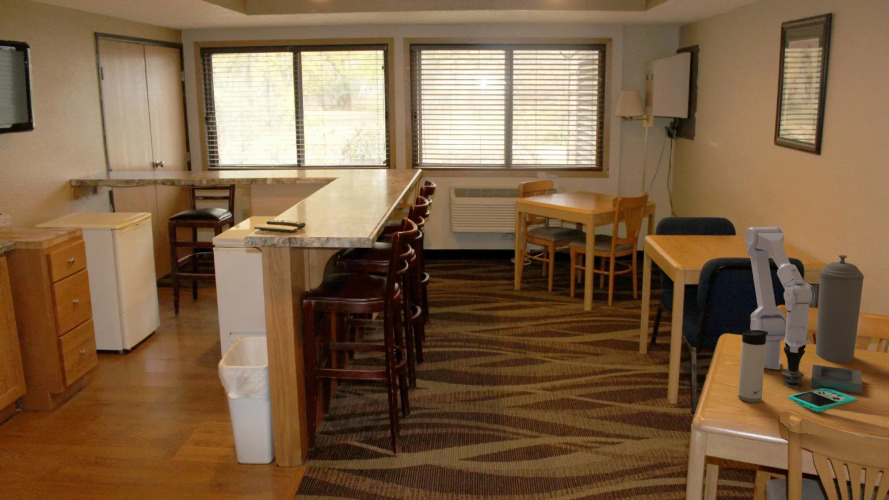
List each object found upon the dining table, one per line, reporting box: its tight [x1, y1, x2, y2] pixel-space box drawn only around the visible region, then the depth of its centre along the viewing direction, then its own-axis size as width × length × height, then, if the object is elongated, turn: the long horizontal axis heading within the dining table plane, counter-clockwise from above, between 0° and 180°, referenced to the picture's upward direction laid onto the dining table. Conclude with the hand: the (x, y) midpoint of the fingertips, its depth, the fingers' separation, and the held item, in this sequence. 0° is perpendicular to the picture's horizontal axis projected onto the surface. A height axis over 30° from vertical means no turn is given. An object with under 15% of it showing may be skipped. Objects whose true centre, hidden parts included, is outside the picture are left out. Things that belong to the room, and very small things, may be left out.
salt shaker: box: [781, 361, 805, 389], centre depth 215 cm, size 6×6×12 cm
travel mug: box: [737, 329, 768, 403], centre depth 204 cm, size 6×7×20 cm
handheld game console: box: [787, 388, 857, 413], centre depth 204 cm, size 10×16×1 cm, turn 115°
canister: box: [815, 254, 865, 364], centre depth 235 cm, size 13×13×35 cm
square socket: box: [810, 364, 863, 395], centre depth 216 cm, size 13×13×3 cm
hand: (793, 369), depth 215 cm, fingers closed on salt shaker, 3 cm apart
